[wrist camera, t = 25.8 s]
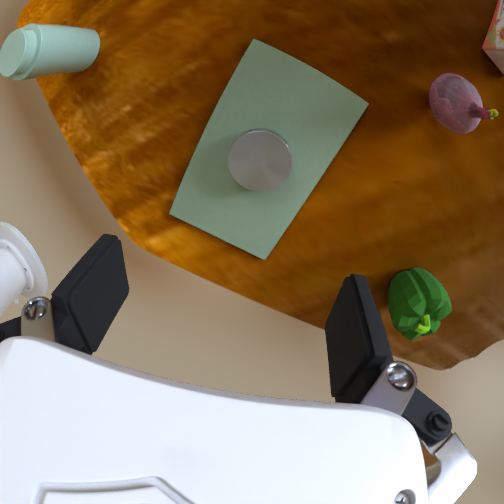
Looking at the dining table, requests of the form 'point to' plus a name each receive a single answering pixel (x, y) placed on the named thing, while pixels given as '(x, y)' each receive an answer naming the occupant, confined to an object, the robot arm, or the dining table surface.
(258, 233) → the mat
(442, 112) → the vegetable
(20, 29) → the cylinder
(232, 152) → the lid
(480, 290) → the dining table surface
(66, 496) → the robot arm
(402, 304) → the bell pepper
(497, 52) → the cracker box
